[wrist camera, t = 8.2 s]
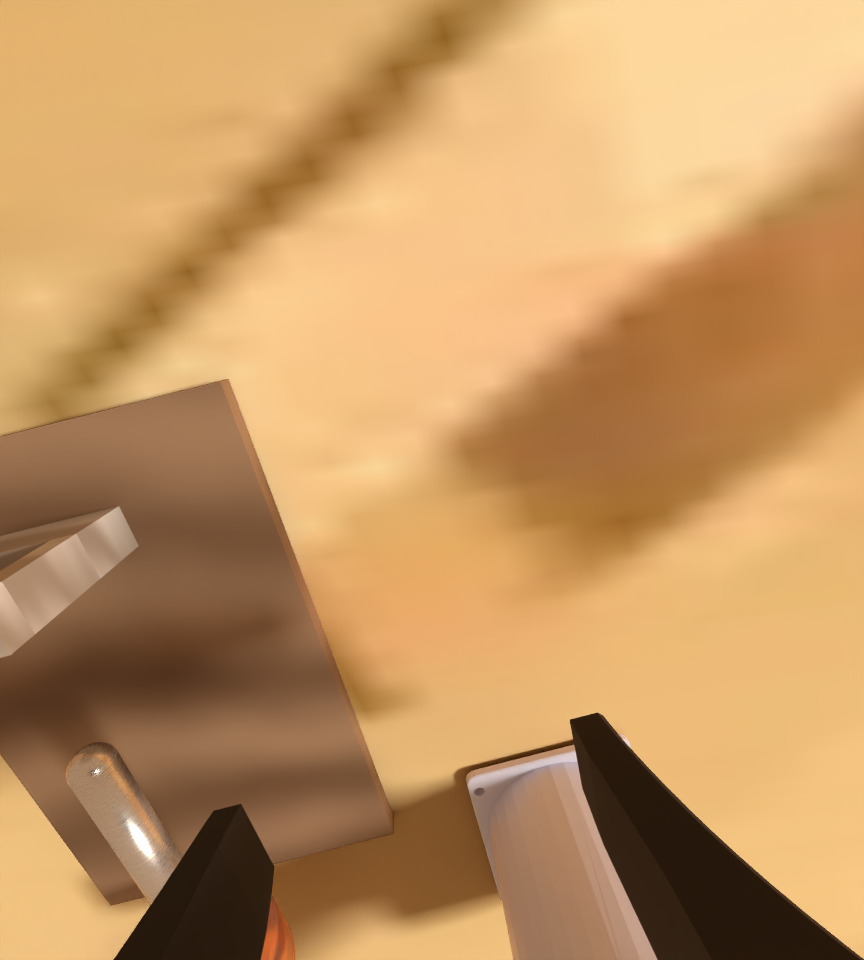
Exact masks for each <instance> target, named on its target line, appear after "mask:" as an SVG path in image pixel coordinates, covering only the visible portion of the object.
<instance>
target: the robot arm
mask: <svg viewBox="0 0 864 960" xmlns="http://www.w3.org/2000/svg"><path fill="white" fill-rule="evenodd" d="M570 724H571V729H572V735H573V740H574V745H570V746H566V747H562V748H559V749H555V750H551V751H547V752H543V753H539V754H535V755H531V756H527V757H523V758H519V759H515V760H511V761H507V762H504V763H500V764H496V765H492V766H488V767H484V768H480V769H476V770H473V771H471V772H469V773H468V774H467V776H466V783H467V788H468V791H469V795H470V798H471V801H472V805H473V808H474V812H475V815H476V818H477V822H478V825H479V829H480V832H481V835H482V839H483V842H484V846H485V849H486V852H487V856H488V859H489V863H490V866H491V869H492V873H493V876H494V880H495V883H496V886H497V890H498V893H499V897H500V899H501V901H502V903H503V908H504V914H505V919H506V924H507V929H508V935H509V940H510V945H511V950H512V956H513V960H864V959H863V958H861V957H860V956H859V955H857V954H856V953H855V952H854V951H852V950H851V949H850V948H849V947H847V946H846V945H845V944H844V943H842V942H841V941H840V940H839V939H837V938H836V937H835V936H834V935H832V934H831V933H830V932H829V931H827V930H826V929H825V928H824V927H822V926H821V925H820V924H819V923H817V922H816V921H815V920H814V919H812V918H811V917H810V916H809V915H807V914H806V913H805V912H804V911H802V910H801V909H800V908H799V907H798V906H796V905H795V904H794V903H793V902H792V901H790V900H789V899H788V898H787V897H786V896H784V895H783V894H782V893H781V892H780V891H779V890H777V889H776V888H775V887H774V886H773V885H771V884H770V883H769V882H768V881H767V880H766V879H764V878H763V877H762V876H761V875H760V874H759V873H758V872H756V871H755V870H754V869H753V868H752V867H751V866H750V865H748V864H747V863H746V862H745V861H744V860H743V859H742V858H741V857H739V856H738V855H737V854H736V853H735V852H734V851H733V850H732V849H731V848H730V847H729V846H727V845H726V844H725V843H724V842H723V841H722V840H721V839H720V838H719V837H718V836H717V835H715V834H714V833H713V832H712V831H711V830H710V829H709V828H708V827H707V826H706V825H705V824H704V823H703V822H702V821H701V820H700V819H699V818H698V817H696V816H695V815H694V814H693V813H692V812H691V811H690V810H689V809H688V808H687V807H686V806H685V805H684V804H683V803H682V802H681V801H680V800H679V799H678V798H677V797H676V796H675V795H674V794H673V793H672V792H671V791H670V790H669V789H668V788H667V787H666V786H665V785H664V784H663V783H662V782H661V781H660V780H659V779H658V777H657V776H656V775H655V774H654V773H653V772H652V771H651V770H650V769H649V768H648V767H647V766H646V765H645V764H644V763H643V761H642V760H641V759H640V758H639V757H638V756H637V755H636V754H635V753H634V752H633V751H632V749H631V748H630V743H629V741H628V739H627V738H626V736H625V735H623V734H618V733H617V732H616V731H615V730H614V729H613V727H612V726H611V725H610V724H609V722H608V721H607V720H606V719H605V717H604V716H603V715H601V714H599V713H594V714H590V715H587V716H583V717H579V718H575V719H571V720H570ZM273 874H274V865H273V863H272V861H271V859H270V858H269V856H268V854H267V852H266V850H265V848H264V846H263V844H262V842H261V840H260V839H259V837H258V835H257V833H256V831H255V829H254V827H253V825H252V823H251V821H250V820H249V818H248V816H247V814H246V812H245V810H244V808H243V806H242V804H238V805H234V806H230V807H226V808H222V809H218V810H214V811H213V812H212V814H211V815H210V817H209V818H208V819H207V821H206V822H205V824H204V825H203V827H202V828H201V830H200V831H199V833H198V834H197V836H196V837H195V839H194V840H193V842H192V844H191V845H190V847H189V848H188V850H187V851H186V853H185V854H184V856H183V857H182V859H181V860H180V862H179V863H178V865H177V866H176V868H175V869H174V871H173V872H172V874H171V875H170V877H169V878H168V880H167V882H166V883H165V885H164V886H163V888H162V889H161V891H160V892H159V894H158V895H157V897H156V898H155V900H154V901H153V903H152V904H151V906H150V907H149V909H148V910H147V911H146V913H145V914H144V916H143V917H142V919H141V920H140V922H139V923H138V925H137V926H136V928H135V929H134V931H133V932H132V934H131V935H130V937H129V938H128V940H127V941H126V943H125V944H124V946H123V947H122V948H121V950H120V951H119V953H118V954H117V956H116V957H115V958H114V960H261V956H262V951H263V947H264V942H265V937H266V932H267V925H268V917H269V910H270V902H271V893H272V884H273Z"/></svg>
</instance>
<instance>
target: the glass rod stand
mask: <svg viewBox="0 0 864 960" xmlns="http://www.w3.org/2000/svg"><path fill="white" fill-rule="evenodd" d="M66 780H67V783H68V785H69V786H70V788H71V789H72V791H73V792H74V794H75V795H76V797H77V798H78V799H79V801H80V802H81V804H82V805H83V807H84V808H85V810H86V811H87V813H88V814H89V816H90V817H91V818H92V820H93V821H94V823H95V824H96V826H97V827H98V829H99V830H100V832H101V833H102V835H103V836H104V838H105V839H106V840H107V842H108V843H109V845H110V846H111V848H112V849H113V851H114V852H115V854H116V855H117V857H118V858H119V859H120V861H121V862H122V864H123V865H124V867H125V868H126V870H127V871H128V873H129V874H130V876H131V877H132V878H133V880H134V881H135V883H136V884H137V886H138V887H139V889H140V890H141V892H142V893H143V895H144V896H145V898H146V899H147V900H148V902H149V903H150V905H151V904H152V903H153V901H154V900H155V898H156V897H157V895H158V894H159V892H160V891H161V889H162V888H163V886H164V885H165V883H166V882H167V880H168V878H169V877H170V875H171V874H172V872H173V871H174V869H175V868H176V866H177V865H178V863H179V862H180V860H181V859H182V855H181V853H180V852H179V850H178V848H177V847H176V845H175V844H174V842H173V840H172V839H171V837H170V835H169V834H168V832H167V831H166V829H165V827H164V826H163V824H162V822H161V821H160V819H159V818H158V816H157V814H156V813H155V811H154V809H153V808H152V806H151V805H150V803H149V801H148V800H147V798H146V796H145V795H144V793H143V792H142V790H141V788H140V787H139V785H138V783H137V782H136V780H135V779H134V777H133V775H132V774H131V772H130V770H129V769H128V767H127V766H126V764H125V762H124V761H123V759H122V757H121V756H120V754H119V753H118V751H117V749H116V748H115V747H114V746H113V745H111V744H110V743H107V742H94V743H91V744H88V745H86V746H84V747H83V748H81V749H80V750H79V751H77V752H76V753H75V754H74V756H73V757H72V758H71V760H70V761H69V763H68V766H67V769H66ZM261 960H295V945H294V939H293V935H292V932H291V930H290V928H289V926H288V924H287V922H286V920H285V918H284V917H283V915H282V913H281V911H280V909H279V907H278V906H277V904H276V902H275V900H274V898H273V896H272V895H271V902H270V910H269V917H268V925H267V932H266V937H265V942H264V947H263V951H262V956H261Z"/></svg>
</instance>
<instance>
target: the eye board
mask: <svg viewBox="0 0 864 960" xmlns="http://www.w3.org/2000/svg"><path fill="white" fill-rule="evenodd" d="M94 742H107V743H110V744H111V745H113V746H114V747H115V748H116V749H117V751H118V753H119V754H120V756H121V757H122V759H123V761H124V762H125V764H126V766H127V767H128V769H129V770H130V772H131V774H132V775H133V777H134V779H135V780H136V782H137V783H138V785H139V787H140V788H141V790H142V792H143V793H144V795H145V796H146V798H147V800H148V801H149V803H150V805H151V806H152V808H153V809H154V811H155V813H156V814H157V816H158V818H159V819H160V821H161V822H162V824H163V826H164V827H165V829H166V831H167V832H168V834H169V835H170V837H171V839H172V840H173V842H174V844H175V845H176V847H177V848H178V850H179V852H180V853H181V855H182V857H183V856H184V854H185V853H186V851H187V850H188V848H189V847H190V845H191V844H192V842H193V840H194V839H195V837H196V836H197V834H198V833H199V831H200V830H201V828H202V827H203V825H204V824H205V822H206V821H207V819H208V818H209V817H210V815H211V814H212V812H213V811H214V810H218V809H222V808H226V807H230V806H234V805H238V804H242V806H243V808H244V810H245V812H246V814H247V816H248V818H249V820H250V821H251V823H252V825H253V827H254V829H255V831H256V833H257V835H258V837H259V839H260V840H261V842H262V844H263V846H264V848H265V850H266V852H267V854H268V856H269V858H270V859H271V861H272V863H273V864H276V863H280V862H284V861H288V860H292V859H295V858H299V857H303V856H307V855H311V854H315V853H319V852H323V851H327V850H331V849H335V848H339V847H343V846H347V845H351V844H354V843H358V842H362V841H366V840H370V839H374V838H378V837H382V836H386V835H390V834H394V817H393V814H392V811H391V809H390V806H389V803H388V801H387V798H386V796H385V793H384V790H383V788H382V785H381V782H380V780H379V777H378V774H377V772H376V769H375V766H374V764H373V761H372V758H371V756H370V753H369V750H368V748H367V745H366V743H365V740H364V737H363V735H362V732H361V729H360V727H359V724H358V721H357V719H356V716H355V713H354V711H353V708H352V705H351V703H350V700H349V697H348V695H347V692H346V690H345V687H344V684H343V682H342V679H341V676H340V674H339V671H338V668H337V666H336V663H335V660H334V658H333V655H332V652H331V650H330V647H329V644H328V642H327V639H326V637H325V634H324V631H323V629H322V626H321V623H320V621H319V618H318V615H317V613H316V610H315V607H314V605H313V602H312V599H311V597H310V594H309V591H308V589H307V586H306V584H305V581H304V578H303V576H302V573H301V570H300V568H299V565H298V562H297V560H296V557H295V554H294V552H293V549H292V546H291V544H290V541H289V538H288V536H287V533H286V531H285V528H284V525H283V523H282V520H281V517H280V515H279V512H278V509H277V507H276V504H275V501H274V499H273V496H272V493H271V491H270V488H269V485H268V483H267V480H266V478H265V475H264V472H263V470H262V467H261V464H260V462H259V459H258V456H257V454H256V451H255V448H254V446H253V443H252V440H251V438H250V435H249V432H248V430H247V427H246V425H245V422H244V419H243V417H242V414H241V411H240V409H239V406H238V403H237V401H236V398H235V395H234V393H233V390H232V387H231V385H230V382H229V379H227V380H223V381H219V382H215V383H211V384H207V385H203V386H199V387H195V388H191V389H187V390H183V391H179V392H175V393H171V394H167V395H163V396H159V397H155V398H151V399H147V400H144V401H140V402H136V403H132V404H128V405H124V406H120V407H116V408H112V409H108V410H104V411H100V412H96V413H92V414H88V415H84V416H80V417H76V418H72V419H68V420H64V421H60V422H56V423H52V424H49V425H45V426H41V427H37V428H33V429H29V430H25V431H21V432H17V433H13V434H9V435H5V436H1V437H0V754H1V756H2V757H3V758H4V760H5V761H6V762H7V764H8V765H9V767H10V768H11V769H12V771H13V772H14V773H15V775H16V776H17V777H18V779H19V780H20V782H21V783H22V784H23V786H24V787H25V788H26V790H27V791H28V793H29V794H30V795H31V797H32V798H33V799H34V801H35V802H36V804H37V805H38V806H39V808H40V809H41V810H42V812H43V813H44V815H45V816H46V817H47V819H48V820H49V821H50V823H51V824H52V826H53V827H54V828H55V830H56V831H57V832H58V834H59V835H60V837H61V838H62V839H63V841H64V842H65V843H66V845H67V846H68V848H69V849H70V850H71V852H72V853H73V854H74V856H75V857H76V859H77V860H78V861H79V863H80V864H81V865H82V867H83V868H84V870H85V871H86V872H87V874H88V875H89V876H90V878H91V879H92V881H93V882H94V883H95V885H96V886H97V887H98V889H99V890H100V891H101V893H102V894H103V896H104V897H105V898H106V900H107V901H108V902H109V904H110V905H115V904H119V903H123V902H127V901H130V900H134V899H138V898H142V897H145V896H144V895H143V893H142V892H141V890H140V889H139V887H138V886H137V884H136V883H135V881H134V880H133V878H132V877H131V876H130V874H129V873H128V871H127V870H126V868H125V867H124V865H123V864H122V862H121V861H120V859H119V858H118V857H117V855H116V854H115V852H114V851H113V849H112V848H111V846H110V845H109V843H108V842H107V840H106V839H105V838H104V836H103V835H102V833H101V832H100V830H99V829H98V827H97V826H96V824H95V823H94V821H93V820H92V818H91V817H90V816H89V814H88V813H87V811H86V810H85V808H84V807H83V805H82V804H81V802H80V801H79V799H78V798H77V797H76V795H75V794H74V792H73V791H72V789H71V788H70V786H69V785H68V783H67V780H66V769H67V766H68V763H69V761H70V760H71V758H72V757H73V756H74V754H75V753H76V752H77V751H79V750H80V749H81V748H83V747H84V746H86V745H88V744H91V743H94Z"/></svg>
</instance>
